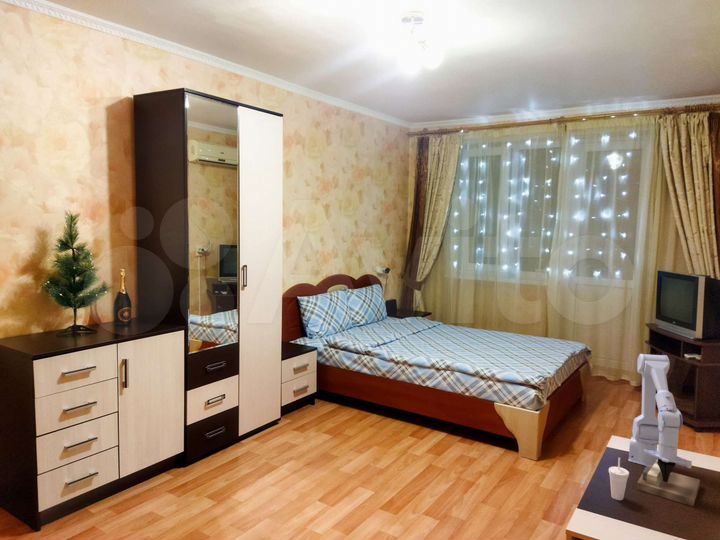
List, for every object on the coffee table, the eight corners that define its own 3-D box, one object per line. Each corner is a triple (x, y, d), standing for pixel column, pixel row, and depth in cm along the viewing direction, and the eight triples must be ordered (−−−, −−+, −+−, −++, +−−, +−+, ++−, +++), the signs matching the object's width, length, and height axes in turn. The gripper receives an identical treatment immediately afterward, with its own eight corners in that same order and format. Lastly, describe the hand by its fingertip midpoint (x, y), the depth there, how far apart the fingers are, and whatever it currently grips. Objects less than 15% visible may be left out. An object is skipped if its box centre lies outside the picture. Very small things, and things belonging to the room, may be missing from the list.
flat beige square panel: (636, 489, 183) (637, 474, 183) (646, 471, 196) (647, 457, 196) (693, 506, 172) (694, 490, 172) (699, 486, 185) (700, 471, 185)
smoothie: (626, 494, 180) (628, 456, 178) (629, 503, 174) (631, 464, 172) (605, 491, 182) (608, 453, 180) (608, 500, 176) (610, 461, 174)
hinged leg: (655, 468, 193) (656, 459, 192) (664, 471, 191) (665, 461, 190) (646, 482, 183) (647, 471, 182) (656, 485, 181) (656, 474, 181)
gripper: (642, 441, 183) (640, 478, 184) (690, 454, 173) (687, 492, 175) (646, 435, 188) (644, 471, 189) (693, 447, 179) (690, 484, 180)
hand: (665, 480), depth 182 cm, fingers closed
